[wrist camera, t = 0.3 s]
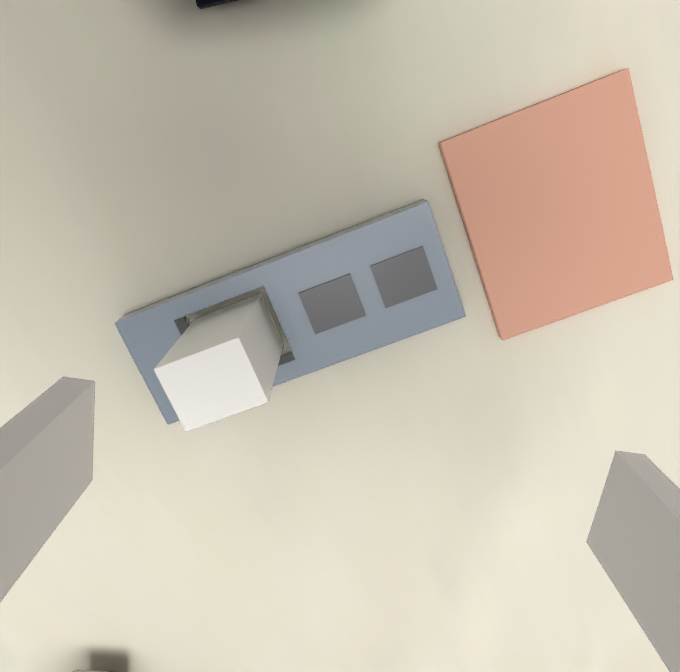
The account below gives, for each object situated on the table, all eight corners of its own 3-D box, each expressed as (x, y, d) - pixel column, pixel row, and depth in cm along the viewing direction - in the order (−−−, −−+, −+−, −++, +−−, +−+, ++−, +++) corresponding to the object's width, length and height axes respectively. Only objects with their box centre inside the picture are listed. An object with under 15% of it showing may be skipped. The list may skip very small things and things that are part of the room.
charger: (195, 318, 41) (153, 369, 32) (261, 293, 41) (238, 337, 31) (219, 368, 42) (185, 431, 33) (283, 344, 42) (268, 402, 32)
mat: (438, 143, 38) (440, 142, 37) (622, 70, 36) (628, 68, 36) (499, 336, 42) (502, 340, 41) (667, 277, 40) (673, 279, 40)
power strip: (124, 314, 41) (113, 323, 39) (423, 199, 39) (428, 202, 37) (175, 412, 43) (166, 425, 41) (459, 308, 41) (466, 317, 39)
